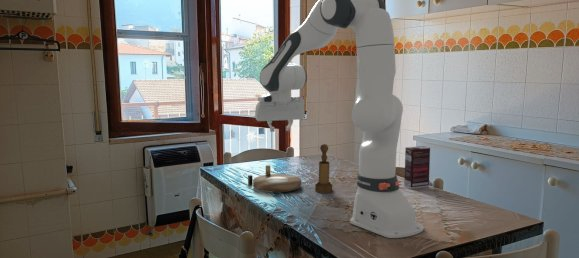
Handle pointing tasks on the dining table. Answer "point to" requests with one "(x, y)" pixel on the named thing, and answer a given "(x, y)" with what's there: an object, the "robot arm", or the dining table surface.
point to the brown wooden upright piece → (323, 173)
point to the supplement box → (417, 167)
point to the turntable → (276, 182)
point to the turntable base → (250, 180)
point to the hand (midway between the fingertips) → (280, 131)
